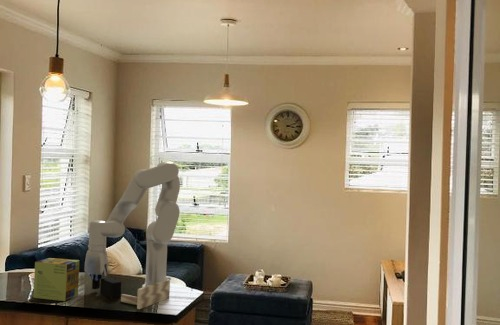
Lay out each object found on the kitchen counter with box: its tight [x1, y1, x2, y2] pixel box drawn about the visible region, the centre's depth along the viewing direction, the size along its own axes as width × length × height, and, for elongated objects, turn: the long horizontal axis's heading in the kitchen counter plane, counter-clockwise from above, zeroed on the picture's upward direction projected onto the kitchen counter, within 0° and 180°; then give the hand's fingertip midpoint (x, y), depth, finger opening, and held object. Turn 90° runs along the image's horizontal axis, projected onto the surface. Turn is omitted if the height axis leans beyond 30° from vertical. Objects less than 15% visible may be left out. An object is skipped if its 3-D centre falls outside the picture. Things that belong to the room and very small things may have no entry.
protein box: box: [32, 257, 80, 302], centre depth 222 cm, size 10×15×16 cm
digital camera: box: [99, 277, 122, 300], centre depth 227 cm, size 10×5×7 cm, turn 46°
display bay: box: [120, 279, 171, 310], centre depth 220 cm, size 21×13×8 cm, turn 154°
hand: (95, 288), depth 232 cm, fingers closed
